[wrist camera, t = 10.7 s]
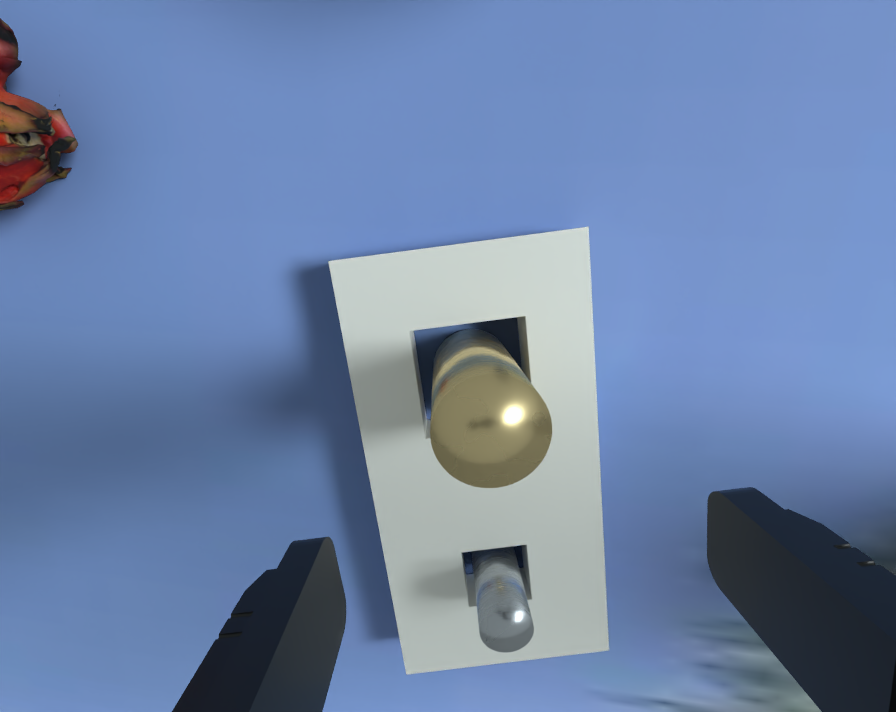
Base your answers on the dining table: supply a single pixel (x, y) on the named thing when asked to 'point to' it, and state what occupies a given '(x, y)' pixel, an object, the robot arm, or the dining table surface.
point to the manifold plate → (451, 501)
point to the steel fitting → (501, 600)
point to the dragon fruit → (27, 135)
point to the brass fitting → (485, 413)
